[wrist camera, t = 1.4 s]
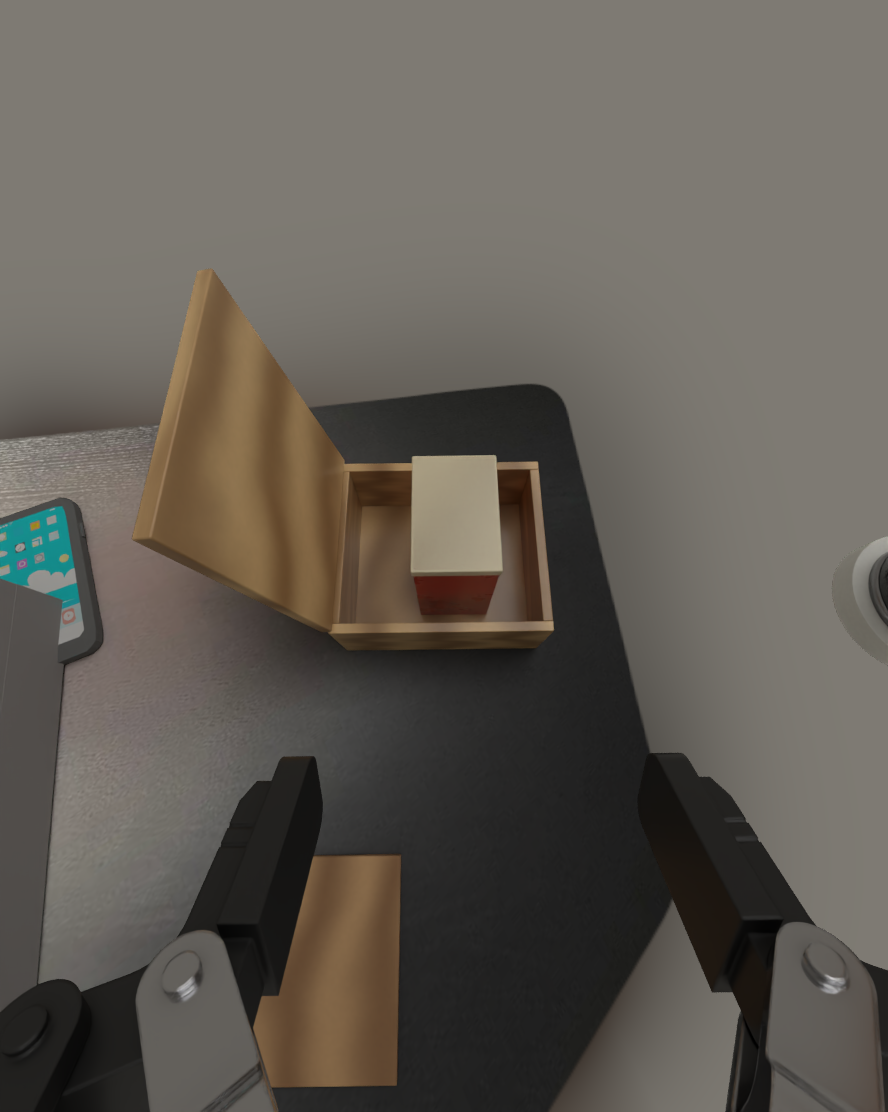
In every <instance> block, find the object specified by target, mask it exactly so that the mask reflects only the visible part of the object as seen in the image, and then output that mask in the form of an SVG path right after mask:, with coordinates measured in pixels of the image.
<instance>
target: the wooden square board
mask: <svg viewBox="0 0 888 1112" xmlns="http://www.w3.org/2000/svg"><path fill="white" fill-rule="evenodd" d="M400 903H401V854H365V855H314V856H313V860H312V864H311V868H310V872H309V876H308V880H307V884H306V888H305V892H304V896H303V900H302V904H301V908H300V912H299V916H298V920H297V924H296V928H295V932H294V936H293V940H292V944H291V948H290V952H289V956H288V960H287V964H286V968H285V972H284V976H283V980H282V984H281V988H280V992H279V996H262V997H261V1001H260V1004H259V1008H258V1012H257V1015H256V1019H255V1023H254V1026H253V1029H254V1032H255V1035H256V1038H257V1042H258V1045H259V1048H260V1052H261V1055H262V1058H263V1061H264V1065H265V1068H266V1071H267V1075H268V1078H269V1081H270V1084H271V1087H335V1086H396V1085H397V1072H398V1016H399V959H400Z"/></svg>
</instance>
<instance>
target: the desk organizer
mask: <svg viewBox="0 0 888 1112" xmlns="http://www.w3.org/2000/svg"><path fill="white" fill-rule="evenodd" d="M62 603H63V600H61V599H59V598H56V597H53V596H50V595H47V594H44V593H41V592H39V591H36V590H33V589H30V588H27V587H24V586H21V585H19V584H15V583H12V582H9V581H6V580H3V579H0V1012H1V1011H2V1010H3V1009H4V1008H5V1007H7V1006H8V1005H9V1004H10V1003H11V1002H12V1001H13V1000H15V999H16V998H17V997H19V996H20V995H21V994H23V993H24V992H26V991H28V990H29V989H31V988H33V987H35V986H36V985H37V973H38V962H39V950H40V938H41V926H42V914H43V903H44V891H45V879H46V867H47V856H48V844H49V832H50V820H51V809H52V797H53V785H54V773H55V761H56V750H57V738H58V726H59V714H60V703H61V691H62V679H63V667H64V664H62V663H58V643H59V633H60V623H61V613H62Z"/></svg>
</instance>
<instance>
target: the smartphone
mask: <svg viewBox="0 0 888 1112" xmlns="http://www.w3.org/2000/svg"><path fill="white" fill-rule="evenodd" d="M0 579H3V580H6V581H9V582H12V583H15V584H19V585H21V586H24V587H27V588H30V589H33V590H36V591H39V592H41V593H44V594H47V595H50V596H53V597H56V598H59V599H61V600H63V603H62V613H61V623H60V633H59V643H58V663H62V664H67V663H70V662H72V661H75V660H77V659H80V658H82V657H85V656H87V655H90V654H92V653H94V652H95V651H96V650H97V649H98V648H99V646H100V645H101V643H102V639H103V631H102V624H101V619H100V613H99V608H98V602H97V597H96V592H95V586H94V581H93V575H92V570H91V565H90V559H89V554H88V548H87V543H86V537H85V531H84V526H83V521H82V516H81V512H80V508H79V507H78V505H77V504H76V503H75V502H73V501H72V500H70V499H67V498H58V499H55V500H52V501H49V502H46V503H43V504H40V505H38V506H35V507H32V508H29V509H26V510H23V511H20V512H17V513H14V514H12V515H9V516H6V517H3V518H0Z"/></svg>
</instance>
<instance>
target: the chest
mask: <svg viewBox="0 0 888 1112" xmlns="http://www.w3.org/2000/svg"><path fill="white" fill-rule="evenodd" d="M497 479H498V495H499V512H500V529H501V545H502V562H503V572H502V575H499V578H498V581H497V584H496V587H495V590H494V593H493V596H492V599H491V602H490V605H489V608H488V611H487V614H456V615H421V613H420V608H419V603H418V598H417V593H416V588H415V583H414V578H413V576H411V572H410V560H411V491H412V463H388V464H344V472H343V485H342V499H341V512H340V526H339V539H338V553H337V566H336V580H335V593H334V607H333V620H332V631H331V632H328V633H329V634H330V635H331V636H332V637H333V638H334V639H335V640H336V641H337V642H339V643H340V644H341V645H342V646H343V647H344V648H345V649H346V650H427V649H508V648H537V647H538V646H539V645H540V644H541V643H542V642H543V641H544V640H545V639H546V638H547V637H548V636H549V635H550V634H551V633H552V632H553V631H554V625H553V615H552V604H551V594H550V583H549V573H548V563H547V552H546V542H545V532H544V521H543V511H542V500H541V490H540V480H539V470H538V462H497Z"/></svg>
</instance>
